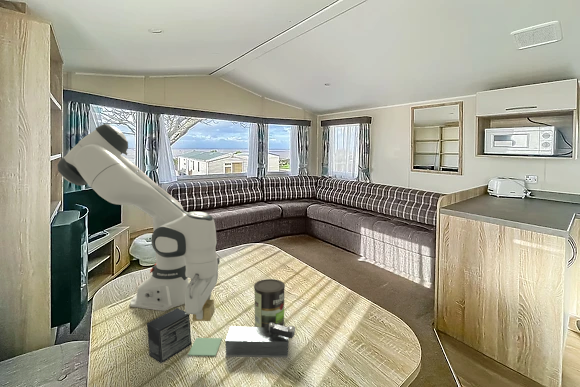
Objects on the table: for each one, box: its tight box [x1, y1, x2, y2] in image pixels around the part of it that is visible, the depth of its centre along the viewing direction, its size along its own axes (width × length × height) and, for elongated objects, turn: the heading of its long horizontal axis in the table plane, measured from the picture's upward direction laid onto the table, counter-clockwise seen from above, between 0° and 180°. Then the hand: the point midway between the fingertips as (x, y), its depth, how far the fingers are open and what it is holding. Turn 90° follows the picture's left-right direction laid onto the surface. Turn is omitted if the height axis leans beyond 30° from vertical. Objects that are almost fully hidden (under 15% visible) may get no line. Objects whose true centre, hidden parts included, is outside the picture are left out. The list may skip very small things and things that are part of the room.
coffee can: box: [253, 278, 286, 327], centre depth 106 cm, size 10×10×14 cm
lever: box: [269, 322, 296, 340], centre depth 92 cm, size 2×8×3 cm, turn 66°
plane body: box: [225, 326, 290, 359], centre depth 94 cm, size 18×7×5 cm, turn 89°
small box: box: [146, 307, 193, 364], centre depth 93 cm, size 11×6×10 cm, turn 145°
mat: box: [187, 337, 223, 357], centre depth 95 cm, size 8×8×1 cm
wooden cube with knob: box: [192, 299, 215, 322], centre depth 93 cm, size 5×5×5 cm
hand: (203, 312), depth 93 cm, fingers closed on wooden cube with knob, 5 cm apart
